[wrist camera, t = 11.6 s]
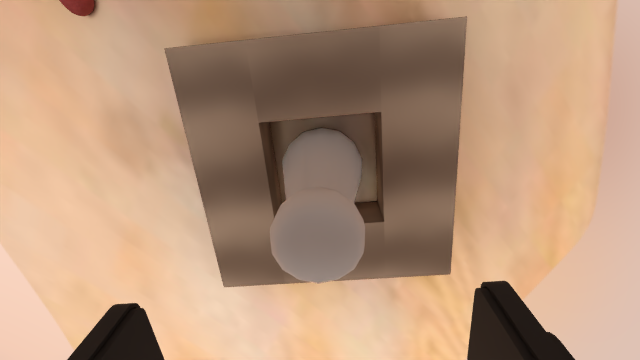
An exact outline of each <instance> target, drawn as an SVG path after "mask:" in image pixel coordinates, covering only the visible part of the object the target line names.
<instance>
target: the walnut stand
mask: <svg viewBox="0 0 640 360" xmlns="http://www.w3.org/2000/svg"><path fill="white" fill-rule="evenodd" d="M466 23H467V17H458V18H449V19H439V20H430V21H420V22H411V23H401V24H392V25H382V26H373V27H363V28H354V29H344V30H335V31H325V32H316V33H306V34H297V35H287V36H278V37H268V38H259V39H249V40H240V41H230V42H221V43H211V44H202V45H192V46H183V47H173V48H164V49H165V53H166V57H167V61H168V65H169V69H170V73H171V77H172V81H173V85H174V89H175V93H176V97H177V101H178V105H179V109H180V113H181V117H182V121H183V125H184V129H185V133H186V137H187V141H188V145H189V149H190V153H191V157H192V161H193V165H194V169H195V173H196V177H197V181H198V185H199V189H200V193H201V197H202V201H203V205H204V209H205V213H206V217H207V221H208V225H209V229H210V233H211V237H212V241H213V245H214V249H215V253H216V257H217V261H218V265H219V269H220V273H221V277H222V281H223V285H224V287H237V286H254V285H272V284H289V283H306V282H308V281H303V280H299V279H297V278H295V277H294V276H292V275H290V274H289V273H287V272H285V271H284V270H282V268H281V267H280V265H279V264H278V262H277V261H276V259H275V258H274V256H273V255H272V250H271V241H270V227H271V225H272V222H273V220H274V218H275V216H276V214H277V211H278V209H279V207H280V205H281V204H282V202H281V195H280V189H279V182H278V176H277V169H276V162H275V156H274V149H273V142H272V136H271V129H270V123H269V122H273V121H284V120H295V119H306V118H318V117H329V116H340V115H351V114H363V113H374V112H375V138H376V169H377V200H378V201H377V202H363V203H354V204H355V206H356V207H357V209H358V211H359V213H360V215H361V217H362V218H363V221H364V224H365V246H364V253H363V255H362V257H361V259H360V260H359V262H358V264H357V266H356V267H355V269H354V270H352V271H351V272H349V273H348V274H346V275H345V276H343V277H341V278H340V279H338V280H334V281H341V280H359V279H376V278H394V277H411V276H429V275H446V274H450V273H451V257H452V241H453V226H454V210H455V195H456V179H457V164H458V148H459V132H460V117H461V101H462V86H463V70H464V55H465V39H466Z"/></svg>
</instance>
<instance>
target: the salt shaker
mask: <svg viewBox="0 0 640 360" xmlns="http://www.w3.org/2000/svg"><path fill="white" fill-rule="evenodd" d="M282 166H283V176H284V185H285V195H286V201H284V202H283V203H282V204H281V205H280V207H279V209H278V211H277V214H276V216H275V218H274V220H273V222H272V225H271V227H270V241H271V250H272V255H273V256H274V258H275V259H276V261H277V262H278V264H279V265H280V267H281V268H282V270H284V271H285V272H287V273H289V274H290V275H292V276H294V277H295V278H297V279H299V280H303V281H308V282H313V283H324V282H329V281H334V280H338V279H340V278H341V277H343V276H345V275H346V274H348V273H349V272H351V271H352V270H354V269H355V267H356V266H357V264H358V262H359V260H360V259H361V257H362V255H363V253H364V246H365V224H364V221H363V218H362V217H361V215H360V213H359V211H358V209H357V207H356V206H355V204H354V202H355V198H356V195H357V191H358V188H359V184H360V180H361V177H362V158H361V156H360V154H359V152H358V150H357V148H356V146H355V144H354V142H353V141H351V140H350V139H349V138H348V137H346V136H345V135H344V134H342V133H341V132H340V131H337V130H331V129H326V128H318V129H313V130H309V131H305V132H303V133H301V134H300V135H299V136H298V137H297V138H296V139H295V140H294V141H292V142H291V143H290V144H289V146H288V148H287V150H286V152H285V155H284V157H283V159H282Z"/></svg>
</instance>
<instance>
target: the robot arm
mask: <svg viewBox="0 0 640 360" xmlns="http://www.w3.org/2000/svg"><path fill="white" fill-rule="evenodd" d="M68 360H164V357H163V355H162V352H161V350H160V347H159V345H158V342H157V340H156V337H155V335H154V332H153V330H152V327H151V324H150V322H149V319H148V317H147V314H146V312H145V310H144V309H143V308H140V306H139V305H138V304H137V303H130V304H116V305H113V306H112V307H111V308H110V309H109V310H108V311H107V312H106V314H105V315H104V316H103V317H102V318H101V320H100V321H99V322H98V323H97V324H96V326H95V327H94V328H93V329H92V330H91V332H90V333H89V334H88V335H87V337H86V338H85V339H84V340H83V341H82V343H81V344H80V345H79V346H78V347H77V349H76V350H75V351H74V352H73V353H72V355H71V356H70V357H69V358H68ZM467 360H575V359H574V358H573V357H572V355H571V354H570V353H569V352H568V350H567V349H566V348H565V346H564V345H563V344H562V343H561V341H560V340H559V339H558V338H557V337H556V336H555V335H553V334H552V333H550V332H546V331H545V330H544V328H543V327H542V326H541V324H540V323H539V322H538V321H537V319H536V318H535V317H534V315H533V314H532V313H531V311H530V310H529V309H528V308H527V306H526V305H525V304H524V302H523V301H522V300H521V298H520V297H519V296H518V295H517V293H516V292H515V291H514V289H513V288H512V287H511V285H510V284H509V283H508V282H506V281H494V282H483V283H482V284H481V288H476V290H475V295H474V303H473V312H472V321H471V330H470V339H469V348H468V357H467Z"/></svg>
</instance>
